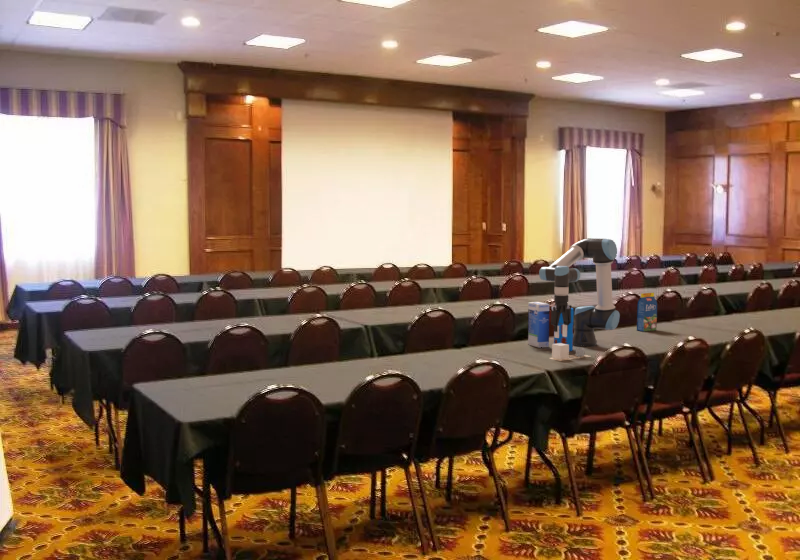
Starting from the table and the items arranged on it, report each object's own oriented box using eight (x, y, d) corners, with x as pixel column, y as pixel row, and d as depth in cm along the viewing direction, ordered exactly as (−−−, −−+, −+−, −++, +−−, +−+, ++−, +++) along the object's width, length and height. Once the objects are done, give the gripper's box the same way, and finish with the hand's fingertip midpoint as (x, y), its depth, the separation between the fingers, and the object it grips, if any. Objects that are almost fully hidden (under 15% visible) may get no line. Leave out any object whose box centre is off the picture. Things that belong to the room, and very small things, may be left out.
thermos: (572, 353, 487) (573, 309, 485) (553, 352, 489) (554, 309, 487) (572, 350, 498) (573, 307, 495) (554, 349, 500) (554, 306, 497)
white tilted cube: (560, 356, 472) (560, 343, 471) (568, 358, 467) (569, 344, 466) (551, 358, 468) (552, 344, 468) (560, 359, 463) (560, 345, 462)
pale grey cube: (579, 355, 477) (580, 348, 476) (584, 356, 474) (584, 349, 474) (575, 355, 475) (575, 348, 474) (580, 356, 472) (580, 349, 472)
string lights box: (549, 347, 507) (550, 304, 505) (538, 348, 505) (538, 304, 502) (538, 343, 520) (538, 301, 517) (527, 344, 517) (527, 301, 515)
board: (579, 355, 481) (579, 353, 481) (591, 357, 474) (591, 356, 474) (548, 360, 468) (548, 358, 468) (560, 362, 461) (560, 360, 460)
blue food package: (636, 330, 570) (637, 293, 567) (649, 329, 576) (650, 292, 573) (643, 331, 564) (644, 294, 562) (656, 330, 570) (657, 292, 568)
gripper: (568, 292, 472) (567, 334, 474) (544, 295, 462) (543, 337, 464) (578, 294, 466) (577, 336, 468) (553, 296, 456) (553, 339, 458)
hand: (560, 337), depth 466 cm, fingers open, 5 cm apart
